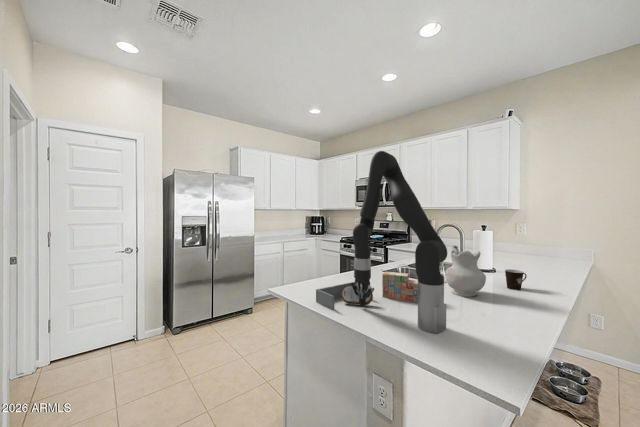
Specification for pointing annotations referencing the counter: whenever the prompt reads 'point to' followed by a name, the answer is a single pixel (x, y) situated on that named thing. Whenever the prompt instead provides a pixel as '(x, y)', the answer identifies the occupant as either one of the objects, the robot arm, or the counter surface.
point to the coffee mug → (514, 279)
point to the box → (329, 294)
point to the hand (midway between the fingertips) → (362, 305)
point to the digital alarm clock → (353, 296)
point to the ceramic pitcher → (465, 273)
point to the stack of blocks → (399, 286)
